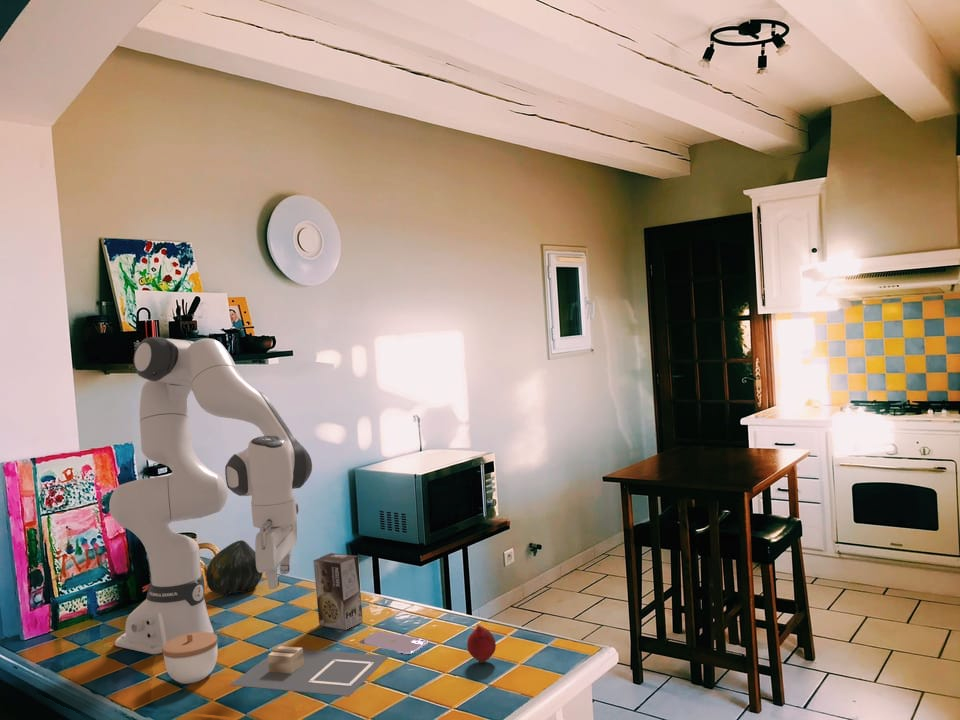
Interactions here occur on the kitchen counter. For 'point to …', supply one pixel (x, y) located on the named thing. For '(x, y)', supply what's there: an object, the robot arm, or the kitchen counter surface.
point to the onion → (481, 644)
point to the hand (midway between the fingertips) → (279, 580)
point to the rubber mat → (316, 673)
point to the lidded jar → (191, 656)
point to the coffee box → (338, 591)
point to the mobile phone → (394, 642)
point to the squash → (233, 569)
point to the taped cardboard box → (285, 659)
